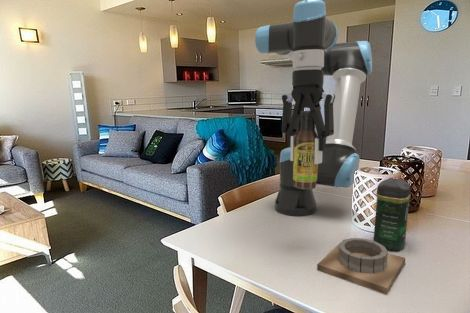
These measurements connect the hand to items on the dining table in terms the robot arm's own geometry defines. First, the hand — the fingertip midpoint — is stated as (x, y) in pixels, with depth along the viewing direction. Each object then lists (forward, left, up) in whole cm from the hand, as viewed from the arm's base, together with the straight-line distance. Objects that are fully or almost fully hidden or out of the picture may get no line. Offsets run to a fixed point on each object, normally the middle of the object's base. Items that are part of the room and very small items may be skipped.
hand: (305, 161), depth 84 cm
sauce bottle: (0, 0, -7) cm, 7 cm away
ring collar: (+15, +1, -25) cm, 29 cm away
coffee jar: (+17, +18, -25) cm, 35 cm away
